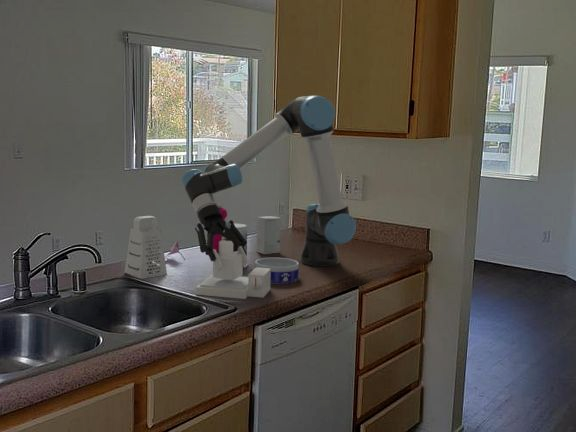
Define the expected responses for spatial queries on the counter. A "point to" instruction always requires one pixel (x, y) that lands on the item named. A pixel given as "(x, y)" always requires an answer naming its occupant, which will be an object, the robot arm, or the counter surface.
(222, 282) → the kitchen scale
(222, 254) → the medicine bottle
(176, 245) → the lily
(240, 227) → the supplement tub
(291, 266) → the dog bowl
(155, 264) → the grater
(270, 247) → the skincare box
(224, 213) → the pepper mill
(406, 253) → the counter surface
